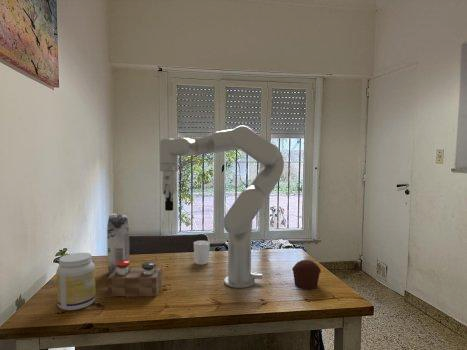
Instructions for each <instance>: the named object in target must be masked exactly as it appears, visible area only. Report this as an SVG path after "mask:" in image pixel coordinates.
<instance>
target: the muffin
mask: <svg viewBox="0 0 467 350" xmlns="http://www.w3.org/2000/svg"><path fill="white" fill-rule="evenodd" d="M291 270H292V273H293V274H292V275H293V280H294V285H295V287H296V288H297V289H302V290H303V291H305V290H308V291H311V290H315V289H317V287H318V284H319V278H320V274H321V272H322V269H321V268H320V267H319V265H318V264H317V263H316V262H314V261H313V260H309V259H302V260H300V261H298V262H296V263H295V264H294V266H293V267H292V269H291Z"/></svg>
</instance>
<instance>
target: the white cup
mask: <svg viewBox="0 0 467 350" xmlns="http://www.w3.org/2000/svg"><path fill="white" fill-rule="evenodd" d="M210 244H211V243H210V241H208V240H196V241H193V253H194V254H193V255H194V256H193V257H194V263H195V264H196V265H201V266H202V265H206V264H207V265H208V264H209V261H210V260H209V259H210V250H211V249H210V247H211V246H210Z"/></svg>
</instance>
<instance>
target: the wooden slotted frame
mask: <svg viewBox="0 0 467 350" xmlns="http://www.w3.org/2000/svg"><path fill="white" fill-rule="evenodd" d="M106 282H107V284H106V285H107V287H106V288H107V290H106V291H107V298H113V297H112V296H123V297H124V296H126V297H127V298H128V297H129V296H131V297H157V296H158V293H159V291H160V289H161V286H162V284H163V267H162V266H156V267H155V268H154V274H144V271H143V268H142V266H131V267H130V266H129V267H128V274H127V275H117V268H116V269H115V270H114V272H113V273H112V274H111V275H108V277H107V278H106ZM123 297H122V298H123ZM126 297H124V298H126Z"/></svg>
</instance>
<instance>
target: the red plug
mask: <svg viewBox="0 0 467 350" xmlns="http://www.w3.org/2000/svg"><path fill="white" fill-rule="evenodd" d="M130 263H131V261H130V259H129V260H119V261H116V266H117V275H127V274H128V266H129V267H130Z"/></svg>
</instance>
